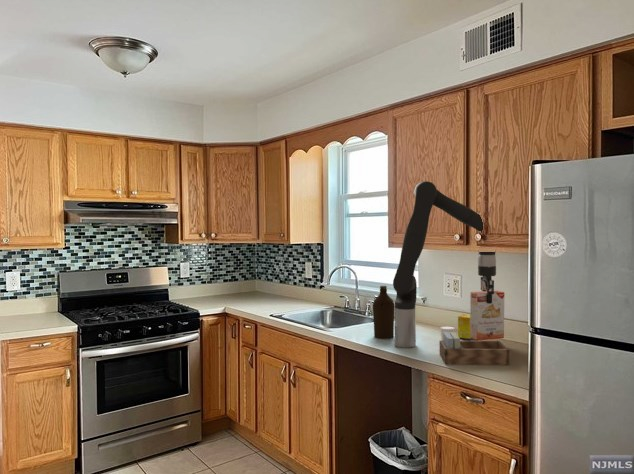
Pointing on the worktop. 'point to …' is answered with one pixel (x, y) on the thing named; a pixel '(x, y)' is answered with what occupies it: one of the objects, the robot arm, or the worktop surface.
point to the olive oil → (383, 315)
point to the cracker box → (486, 316)
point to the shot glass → (446, 330)
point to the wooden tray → (476, 353)
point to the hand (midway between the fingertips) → (487, 301)
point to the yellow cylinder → (464, 327)
